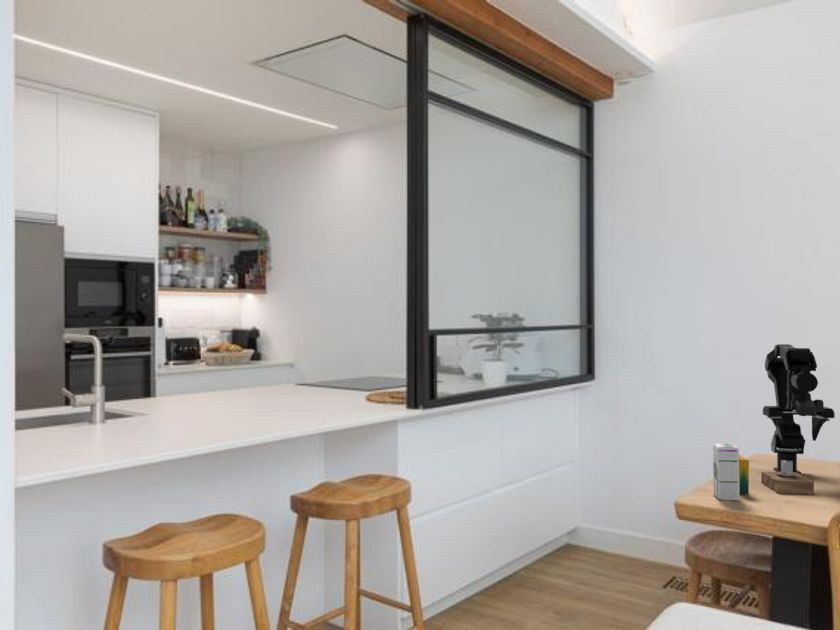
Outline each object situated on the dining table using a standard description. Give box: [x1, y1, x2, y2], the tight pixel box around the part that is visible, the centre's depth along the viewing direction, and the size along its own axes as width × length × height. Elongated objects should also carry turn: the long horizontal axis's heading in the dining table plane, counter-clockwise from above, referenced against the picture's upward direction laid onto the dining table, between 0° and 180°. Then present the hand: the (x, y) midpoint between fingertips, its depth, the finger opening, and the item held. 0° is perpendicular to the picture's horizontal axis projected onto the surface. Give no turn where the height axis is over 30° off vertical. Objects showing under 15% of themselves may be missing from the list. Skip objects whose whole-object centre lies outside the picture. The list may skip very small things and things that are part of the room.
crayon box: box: [739, 455, 750, 495], centre depth 199 cm, size 7×3×12 cm, turn 173°
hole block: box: [760, 470, 815, 495], centre depth 203 cm, size 12×10×4 cm
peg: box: [781, 460, 793, 478], centre depth 203 cm, size 3×3×8 cm
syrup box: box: [712, 443, 740, 502], centre depth 192 cm, size 6×6×14 cm
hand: (798, 440), depth 212 cm, fingers open, 9 cm apart
